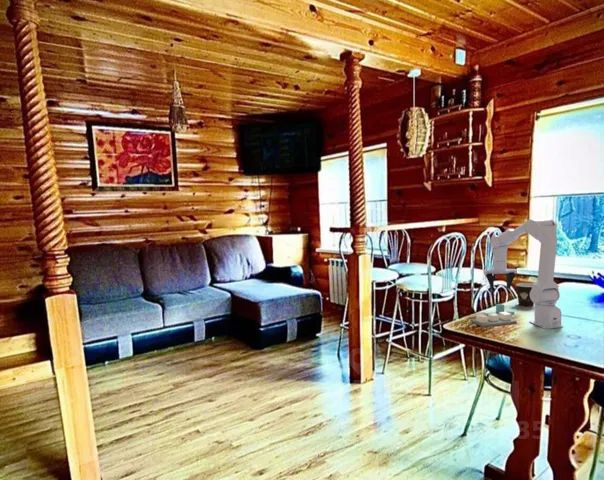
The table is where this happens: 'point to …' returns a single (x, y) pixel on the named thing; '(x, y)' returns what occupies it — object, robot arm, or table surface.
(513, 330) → the table surface
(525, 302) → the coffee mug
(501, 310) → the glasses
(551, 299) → the robot arm
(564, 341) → the table surface
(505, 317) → the display stand
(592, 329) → the table surface
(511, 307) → the table surface
